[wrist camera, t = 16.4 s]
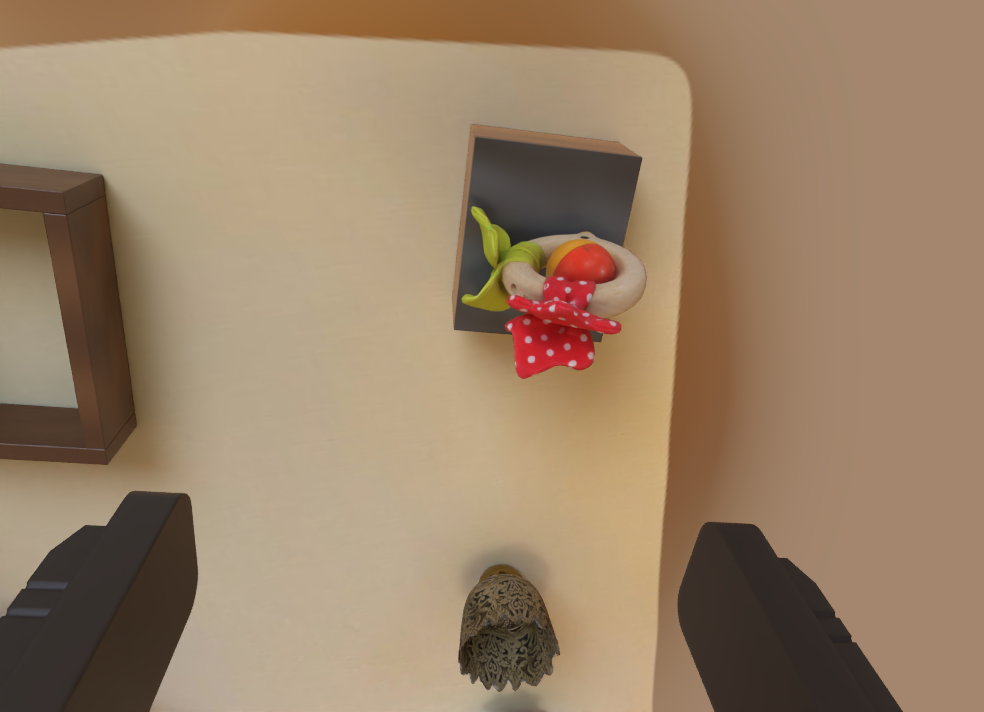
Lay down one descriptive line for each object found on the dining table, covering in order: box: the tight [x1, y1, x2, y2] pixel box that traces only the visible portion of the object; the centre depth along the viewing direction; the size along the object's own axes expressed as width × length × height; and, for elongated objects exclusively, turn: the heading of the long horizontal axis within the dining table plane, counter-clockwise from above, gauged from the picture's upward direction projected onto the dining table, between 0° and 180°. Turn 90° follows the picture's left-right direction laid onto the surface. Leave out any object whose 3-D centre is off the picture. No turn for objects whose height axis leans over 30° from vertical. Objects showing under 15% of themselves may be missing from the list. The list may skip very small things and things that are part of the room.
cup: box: [458, 564, 560, 692], centre depth 51 cm, size 8×7×8 cm
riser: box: [452, 124, 642, 342], centre depth 39 cm, size 11×9×5 cm
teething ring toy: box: [462, 207, 647, 379], centre depth 32 cm, size 6×11×9 cm
